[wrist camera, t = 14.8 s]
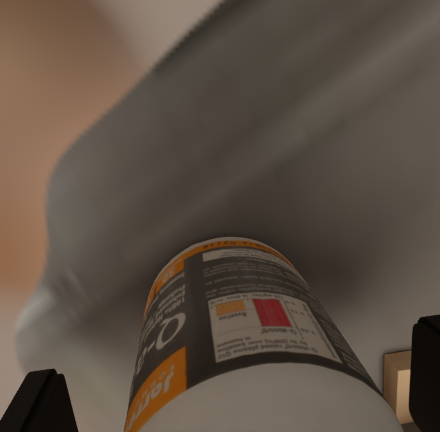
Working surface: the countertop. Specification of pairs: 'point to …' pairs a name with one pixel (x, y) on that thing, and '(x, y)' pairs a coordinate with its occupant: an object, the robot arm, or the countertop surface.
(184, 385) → the pill bottle
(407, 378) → the rail
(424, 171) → the countertop surface
